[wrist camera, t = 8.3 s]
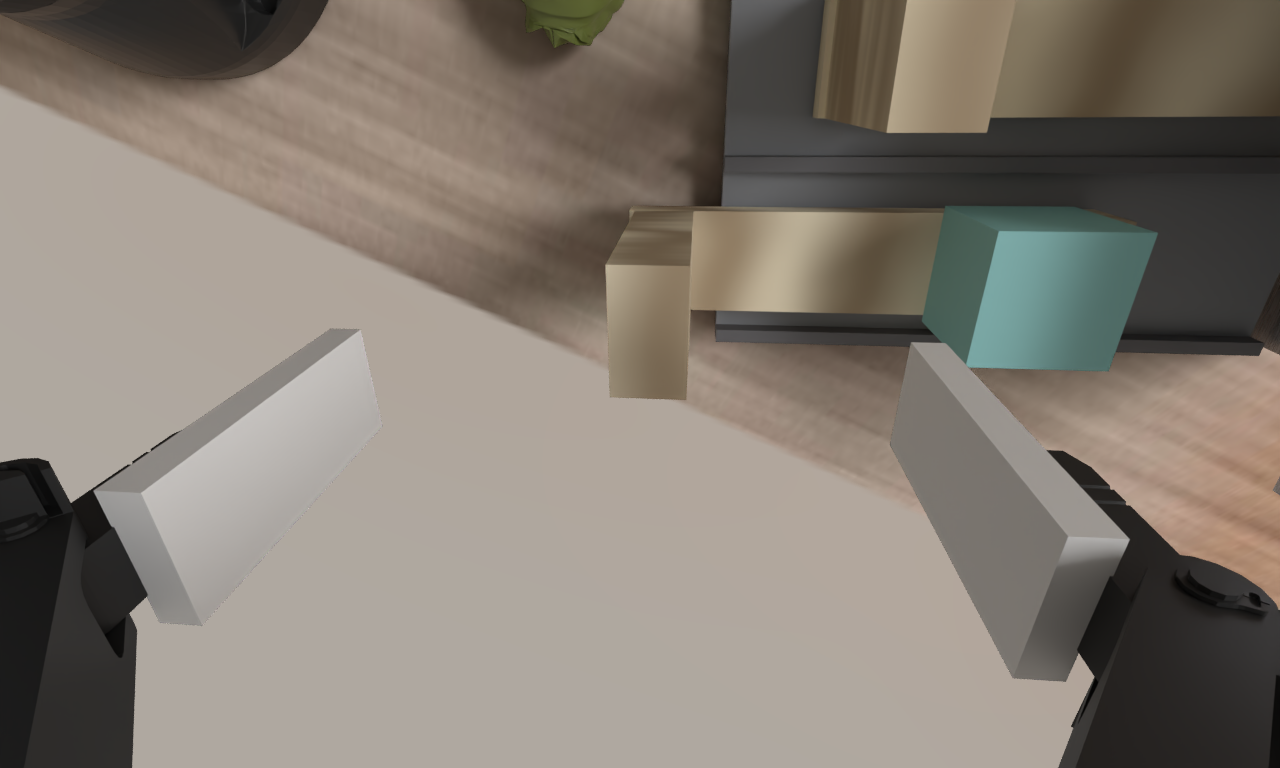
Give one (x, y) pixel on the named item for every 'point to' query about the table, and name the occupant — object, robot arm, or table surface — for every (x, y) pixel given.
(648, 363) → the wooden l-shaped bracket
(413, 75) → the table surface
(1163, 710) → the robot arm
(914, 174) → the lane board
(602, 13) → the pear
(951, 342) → the block
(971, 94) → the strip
